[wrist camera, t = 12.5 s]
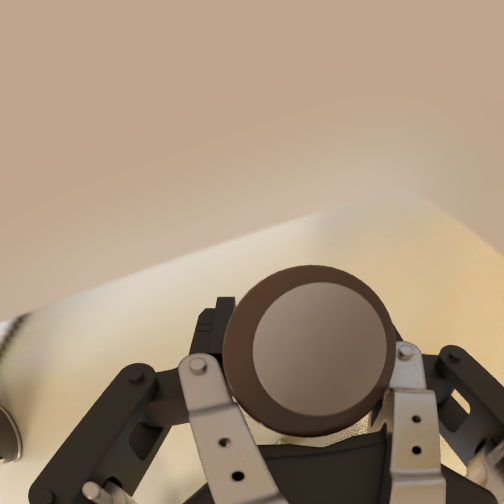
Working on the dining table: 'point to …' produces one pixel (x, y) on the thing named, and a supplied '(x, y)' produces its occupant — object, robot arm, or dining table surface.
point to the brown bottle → (309, 351)
